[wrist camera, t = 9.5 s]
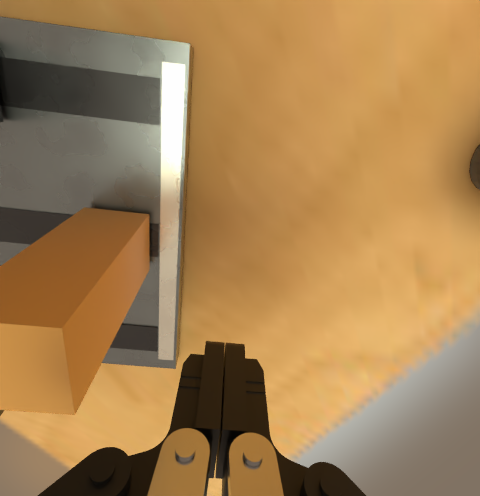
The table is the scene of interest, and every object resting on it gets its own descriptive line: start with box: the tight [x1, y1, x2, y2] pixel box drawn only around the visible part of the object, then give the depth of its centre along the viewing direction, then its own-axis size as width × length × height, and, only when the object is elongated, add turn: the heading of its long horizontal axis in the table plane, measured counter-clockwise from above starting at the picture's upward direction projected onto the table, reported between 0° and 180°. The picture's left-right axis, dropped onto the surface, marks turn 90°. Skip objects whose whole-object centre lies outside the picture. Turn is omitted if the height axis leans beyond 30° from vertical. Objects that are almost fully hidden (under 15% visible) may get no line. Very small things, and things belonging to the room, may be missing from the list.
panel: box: [0, 17, 193, 415], centre depth 16 cm, size 23×16×13 cm
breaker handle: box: [0, 207, 150, 415], centre depth 16 cm, size 4×4×11 cm
